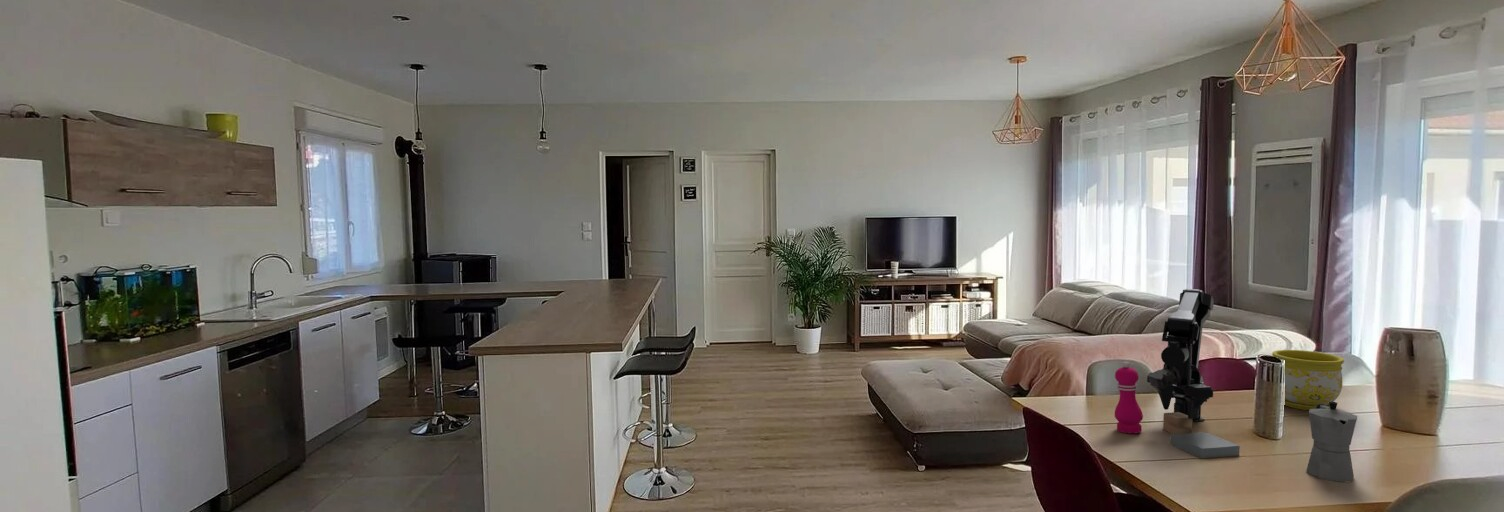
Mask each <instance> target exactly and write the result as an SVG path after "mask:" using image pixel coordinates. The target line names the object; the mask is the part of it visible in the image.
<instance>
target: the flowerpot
mask: <svg viewBox="0 0 1504 512" xmlns="http://www.w3.org/2000/svg"><path fill="white" fill-rule="evenodd" d="M1271 354H1272V357H1273V356H1274V357H1278V358H1282V359H1284V360H1285V405H1284V406H1285V407H1289V408H1293V409H1297V410H1302V411H1310V409H1316V407H1317V405H1318V404H1324V405H1325V406H1328V407H1329V409H1330V405H1329V402H1332V401H1333V402H1336V400H1337V399H1338V397H1339V396H1340V394H1341V393H1342V389H1343V373H1342V370H1343V367H1342V365H1343V364H1344V363H1345V359H1344V358H1343V357H1341V356H1338V355H1336V354H1331V353H1325V352H1320V351H1313V350H1312V351H1311V350H1299V349H1280V350H1275V351H1272V353H1271ZM1274 357H1273V358H1274Z"/></svg>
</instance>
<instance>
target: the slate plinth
mask: <svg viewBox="0 0 1504 512" xmlns="http://www.w3.org/2000/svg"><path fill="white" fill-rule="evenodd" d="M1169 439H1170V440H1169V444H1170V445H1172V446H1175V447H1176V448H1179V449H1181V450H1183V451H1184V452H1188V453H1190V454H1191V455H1194V456H1197V457H1199V458H1201V459H1205V458H1206V459H1207V458H1219V457H1221V458H1222V457H1230V456H1231V457H1232V456H1233V457H1234V456H1240V451H1241V450H1240V448H1241V447H1240V445H1239V444H1236V443H1233V442H1232V441H1229V440H1226V439H1223V438H1221V437H1219V436H1216V435H1214V434H1211V433H1208V432H1204V431H1203V432H1192V433H1189V434H1175V435H1174V434H1170V435H1169Z"/></svg>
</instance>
